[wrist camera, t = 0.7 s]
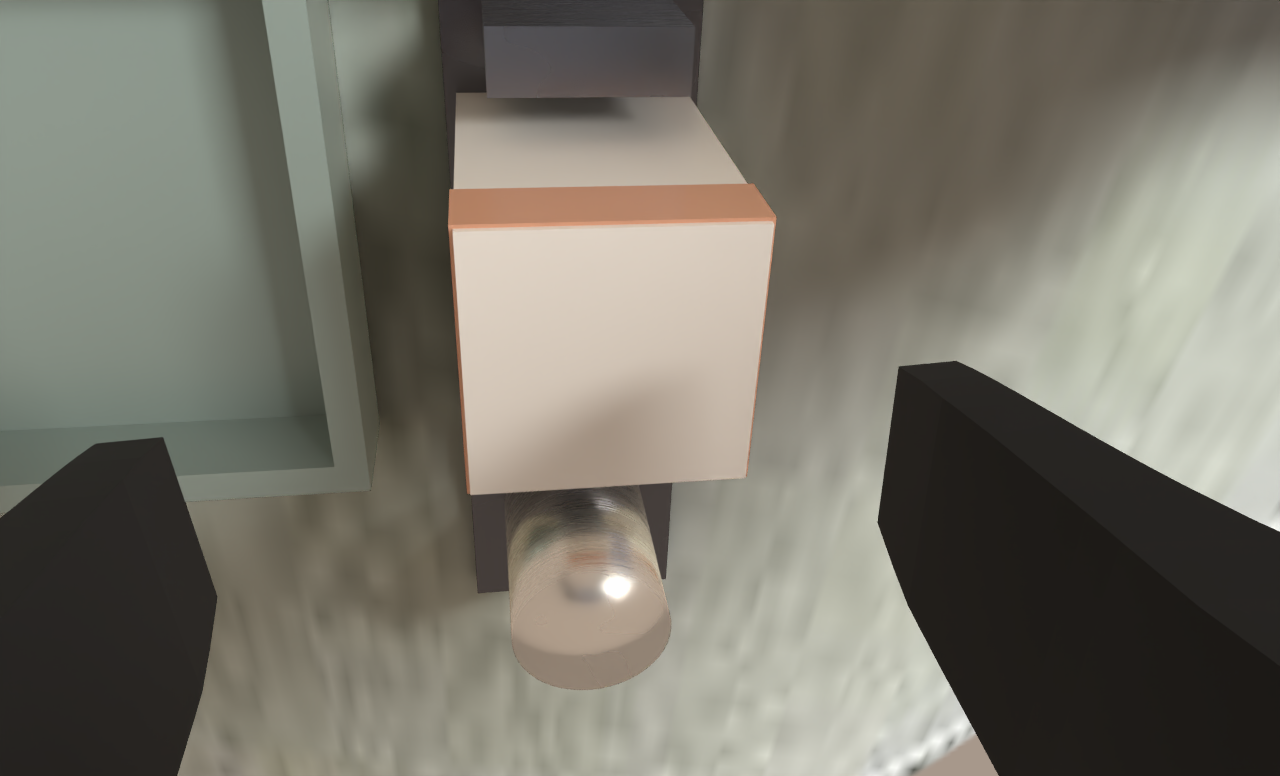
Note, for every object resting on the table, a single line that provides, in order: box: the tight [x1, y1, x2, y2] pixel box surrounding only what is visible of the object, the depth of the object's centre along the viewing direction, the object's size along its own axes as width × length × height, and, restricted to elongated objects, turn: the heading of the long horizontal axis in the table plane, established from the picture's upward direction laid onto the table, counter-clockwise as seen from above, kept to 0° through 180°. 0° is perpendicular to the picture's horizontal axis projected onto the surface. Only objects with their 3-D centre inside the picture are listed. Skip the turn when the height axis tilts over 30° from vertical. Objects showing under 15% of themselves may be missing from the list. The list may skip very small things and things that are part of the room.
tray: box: [0, 0, 380, 513], centre depth 17 cm, size 10×10×2 cm
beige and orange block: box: [448, 93, 777, 495], centre depth 16 cm, size 4×4×6 cm
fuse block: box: [438, 0, 703, 690], centre depth 17 cm, size 4×19×4 cm, turn 178°
